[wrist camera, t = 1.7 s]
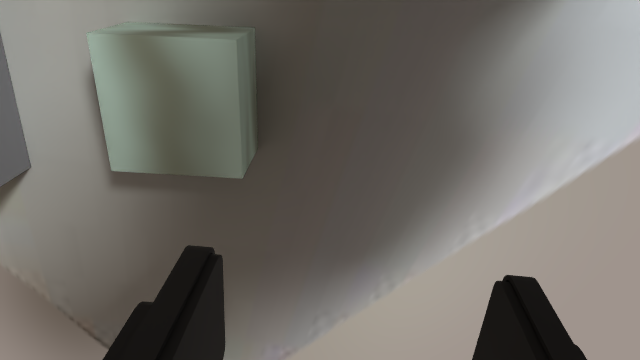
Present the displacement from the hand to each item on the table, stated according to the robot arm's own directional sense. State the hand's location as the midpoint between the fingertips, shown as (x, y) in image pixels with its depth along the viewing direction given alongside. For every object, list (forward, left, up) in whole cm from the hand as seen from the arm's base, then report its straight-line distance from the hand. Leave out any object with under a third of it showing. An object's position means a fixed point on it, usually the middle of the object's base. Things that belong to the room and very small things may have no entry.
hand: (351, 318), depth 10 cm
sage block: (+9, 0, -18) cm, 20 cm away
